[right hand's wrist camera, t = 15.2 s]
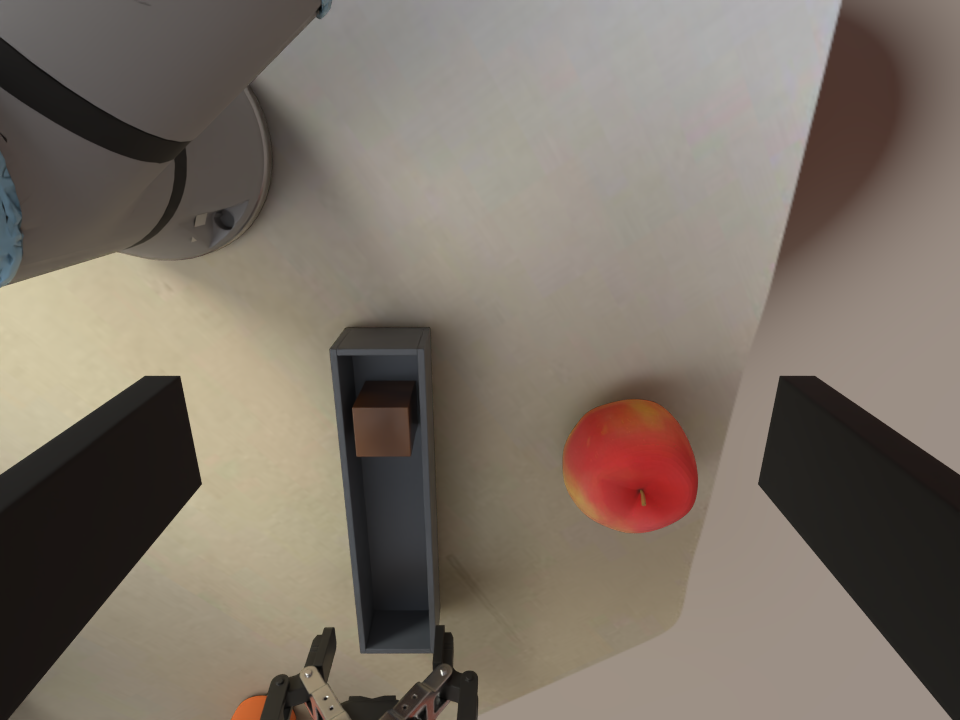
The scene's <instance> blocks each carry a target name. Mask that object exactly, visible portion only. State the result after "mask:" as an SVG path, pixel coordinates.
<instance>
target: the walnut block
mask: <svg viewBox="0 0 960 720" xmlns="http://www.w3.org/2000/svg"><path fill="white" fill-rule="evenodd" d="M352 412H353V423H354V434H355V445H356V456H357V457H410V456H411V453H412V449H413V444H414V440H415V435H416V431H417V427H418V419H417V398H416V381H365V383H364V385H363V387H362V389H361V391H360V393H359V395H358V397H357V399H356V401H355V403H354V405H353V407H352Z"/></svg>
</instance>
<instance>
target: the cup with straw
mask: <svg viewBox="0 0 960 720" xmlns="http://www.w3.org/2000/svg"><path fill="white" fill-rule="evenodd" d="M266 697H267V696H254V697H251V698H248V699H246V700H245V701H243V702H242V703H241V704H240V705H239V706H238V708H237V710H236V711H235V713H234V715H233V717H232V719H231V720H260V717H261V714H262V710H263V707H264V704H265V701H266ZM290 720H296V716H295V713H294V711H293V709H292V713H291V717H290Z"/></svg>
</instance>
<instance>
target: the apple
mask: <svg viewBox="0 0 960 720" xmlns="http://www.w3.org/2000/svg"><path fill="white" fill-rule="evenodd" d="M563 477H564V482H565V485H566V488H567V491H568V493H569V495H570V496H571V498H572V499H573V501H574V502H575V504H576V505H577V506H578V508H579V509H580V510H581V511H582V512H583V513H584V514H585V515H587V516H588V517H589V518H591V519H592V520H594V521H595V522H597V523H599V524H601V525H604V526H606V527H609V528H611V529H614V530H618V531H621V532H626V533H644V532H650V531H654V530H657V529H660V528H663V527H666V526H668V525H670V524H672V523H674V522H676V521H678V520H679V519H681V518H682V517H684V516H685V515H686V514H687V513H688V512H689V511H690V510H691V508H692V507H693V505H694V502H695V499H696V495H697V488H698V473H697V466H696V461H695V457H694V454H693V451H692V448H691V446H690V443H689V441H688V439H687V437H686V435H685V433H684V431H683V429H682V428H681V426H680V425H679V423H678V422H677V421H676V419H675V418H674V417H673V416H672V415H671V414H670V413H669V412H668V411H667V410H666V409H665V408H664V407H662V406H661V405H659V404H657V403H655V402H652V401H648V400H641V399H628V400H621V401H616V402H612V403H608V404H605V405H601V406H599V407H596V408H594V409H592V410H590V411H589V412H587V413H586V414H585V415H584V416H583V417H582V418H581V419H580V421H579V422H578V423H577V425H576V426H575V427H574V429H573V430H572V432H571V433H570V435H569V437H568V439H567V441H566V444H565V447H564V451H563Z"/></svg>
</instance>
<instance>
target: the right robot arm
mask: <svg viewBox="0 0 960 720" xmlns="http://www.w3.org/2000/svg"><path fill="white" fill-rule="evenodd" d="M331 3H332V0H0V288H1V287H3V286H6V285H9V284H13V283H16V282H19V281H22V280H26V279H29V278H32V277H36V276H39V275H42V274H46V273H49V272H52V271H55V270H59V269H62V268H65V267H69V266H72V265H75V264H79V263H82V262H85V261H88V260H92V259H95V258H98V257H102V256H105V255H108V254H112V253H115V252H119V253H124V254H128V255H132V256H137V257H141V258H146V259H153V260H184V259H191V258H195V257H199V256H203V255H205V254H208V253H210V252H213V251H216V250H218V249H220V248H222V247H224V246H226V245H228V244H230V243H231V242H233V241H234V240H236V239H237V238H238V237H239V236H241V235H242V234H243V233H244V232H245V231H246V230H247V229H248V228H249V227H250V226H251V224H252V223H253V222H254V220H255V219H256V217H257V216H258V214H259V212H260V211H261V209H262V207H263V204H264V202H265V200H266V197H267V194H268V191H269V186H270V182H271V175H272V146H271V140H270V134H269V131H268V127H267V123H266V120H265V117H264V114H263V112H262V109H261V107H260V105H259V103H258V100H257V98H256V97H255V95H254V93H253V91H252V89H251V88H250V86H249V84H250V83H251V82H252V81H253V80H254V79H255V78H256V77H257V76H258V75H259V74H260V73H261V72H262V71H263V70H264V69H265V68H266V67H267V66H268V65H269V64H270V63H271V62H272V61H273V60H274V59H275V58H276V57H277V56H278V55H279V54H280V53H281V52H282V51H283V49H284V48H285V47H286V46H287V45H288V44H289V43H290V42H291V41H292V40H293V39H294V38H295V37H296V36H297V35H298V34H299V33H300V32H301V31H302V30H303V29H304V28H305V27H306V26H307V25H308V24H309V23H310V22H311V21H312V20H313V19H314V18H315V17H317V18H318V19H322V18H323V17H324V16H325V15H326V14H327V13H328V11H329V10H330V8H331ZM201 485H202V482H201V477H200V472H199V467H198V462H197V457H196V452H195V447H194V442H193V437H192V432H191V427H190V422H189V417H188V412H187V407H186V403H185V398H184V393H183V388H182V383H181V378H180V376H144V377H143V378H141V379H140V380H138V381H137V382H136V383H134V384H133V385H131V386H130V387H128V388H127V389H125V390H124V391H122V392H121V393H119V394H118V395H117V396H115V397H114V398H112V399H111V400H109V401H108V402H106V403H105V404H103V405H102V406H100V407H99V408H97V409H96V410H95V411H93V412H92V413H90V414H89V415H87V416H86V417H84V418H83V419H81V420H80V421H78V422H77V423H76V424H74V425H73V426H71V427H70V428H68V429H67V430H65V431H64V432H62V433H61V434H59V435H58V436H57V437H55V438H54V439H52V440H51V441H49V442H48V443H46V444H45V445H43V446H42V447H40V448H39V449H37V450H36V451H35V452H33V453H32V454H30V455H29V456H27V457H26V458H24V459H23V460H21V461H20V462H18V463H17V464H16V465H14V466H13V467H11V468H10V469H8V470H7V471H5V472H4V473H2V474H1V475H0V720H8V718H9V717H10V716H11V715H12V714H13V712H14V711H15V710H16V709H17V708H18V706H19V705H20V704H21V703H22V702H23V700H24V699H25V698H26V697H27V695H28V694H29V693H30V692H31V691H32V689H33V688H34V687H35V686H36V685H37V683H38V682H39V681H40V680H41V679H42V677H43V676H44V675H45V674H46V672H47V671H48V670H49V669H50V668H51V666H52V665H53V664H54V663H55V662H56V660H57V659H58V658H59V657H60V655H61V654H62V653H63V652H64V651H65V649H66V648H67V647H68V646H69V645H70V643H71V642H72V641H73V640H74V639H75V637H76V636H77V635H78V634H79V632H80V631H81V630H82V629H83V628H84V626H85V625H86V624H87V623H88V622H89V620H90V619H91V618H92V617H93V615H94V614H95V613H96V612H97V611H98V609H99V608H100V607H101V606H102V605H103V603H104V602H105V601H106V600H107V599H108V597H109V596H110V595H111V594H112V592H113V591H114V590H115V589H116V588H117V586H118V585H119V584H120V583H121V582H122V580H123V579H124V578H125V577H126V576H127V574H128V573H129V572H130V571H131V569H132V568H133V567H134V566H135V565H136V563H137V562H138V561H139V560H140V559H141V557H142V556H143V555H144V554H145V552H146V551H147V550H148V549H149V548H150V546H151V545H152V544H153V543H154V542H155V540H156V539H157V538H158V537H159V536H160V534H161V533H162V532H163V531H164V529H165V528H166V527H167V526H168V525H169V523H170V522H171V521H172V520H173V519H174V517H175V516H176V515H177V514H178V513H179V511H180V510H181V509H182V508H183V506H184V505H185V504H186V503H187V502H188V500H189V499H190V498H191V497H192V496H193V494H194V493H195V492H196V491H197V489H198V488H199V487H200V486H201ZM758 485H759V486H760V487H761V488H762V489H763V491H764V492H765V493H766V494H767V495H768V497H769V498H770V499H771V500H772V502H773V503H774V504H775V505H776V506H777V508H778V509H779V510H780V511H781V513H782V514H783V515H784V516H785V517H786V518H787V520H788V521H789V522H790V523H791V525H792V526H793V527H794V528H795V529H796V531H797V532H798V533H799V534H800V536H801V537H802V538H803V539H804V540H805V542H806V543H807V544H808V545H809V546H810V548H811V549H812V550H813V551H814V552H815V554H816V555H817V556H818V557H819V559H820V560H821V561H822V562H823V563H824V565H825V566H826V567H827V568H828V569H829V571H830V572H831V573H832V574H833V576H834V577H835V578H836V579H837V580H838V582H839V583H840V584H841V585H842V586H843V588H844V589H845V590H846V591H847V592H848V594H849V595H850V596H851V597H852V598H853V600H854V601H855V602H856V603H857V605H858V606H859V607H860V608H861V609H862V611H863V612H864V613H865V614H866V616H867V617H868V618H869V619H870V620H871V622H872V623H873V624H874V625H875V626H876V628H877V629H878V630H879V631H880V632H881V634H882V635H883V636H884V637H885V639H886V640H887V641H888V642H889V643H890V645H891V646H892V647H893V648H894V649H895V651H896V652H897V653H898V654H899V655H900V657H901V658H902V659H903V660H904V662H905V663H906V664H907V665H908V666H909V668H910V669H911V670H912V671H913V672H914V674H915V675H916V676H917V677H918V679H919V680H920V681H921V682H922V683H923V685H924V686H925V687H926V688H927V689H928V691H929V692H930V693H931V694H932V695H933V697H934V698H935V699H936V700H937V702H938V703H939V704H940V705H941V706H942V708H943V709H944V710H945V711H946V712H947V714H948V715H949V716H950V717H951V718H952V720H960V475H959V474H958V473H956V472H955V471H953V470H952V469H950V468H949V467H947V466H946V465H944V464H943V463H942V462H940V461H939V460H937V459H936V458H934V457H933V456H931V455H930V454H928V453H927V452H925V451H924V450H922V449H921V448H920V447H918V446H917V445H915V444H914V443H912V442H911V441H909V440H908V439H906V438H905V437H903V436H902V435H901V434H899V433H898V432H896V431H895V430H893V429H892V428H890V427H889V426H887V425H886V424H884V423H883V422H882V421H880V420H879V419H877V418H876V417H874V416H873V415H871V414H870V413H868V412H867V411H865V410H864V409H863V408H861V407H860V406H858V405H857V404H855V403H854V402H852V401H851V400H849V399H848V398H846V397H845V396H843V395H842V394H841V393H839V392H838V391H836V390H835V389H833V388H832V387H830V386H829V385H827V384H826V383H824V382H823V381H822V380H820V379H819V378H817V377H816V376H780V378H779V383H778V388H777V393H776V398H775V403H774V408H773V412H772V417H771V422H770V427H769V432H768V437H767V443H766V447H765V452H764V457H763V462H762V467H761V472H760V477H759V482H758Z"/></svg>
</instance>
